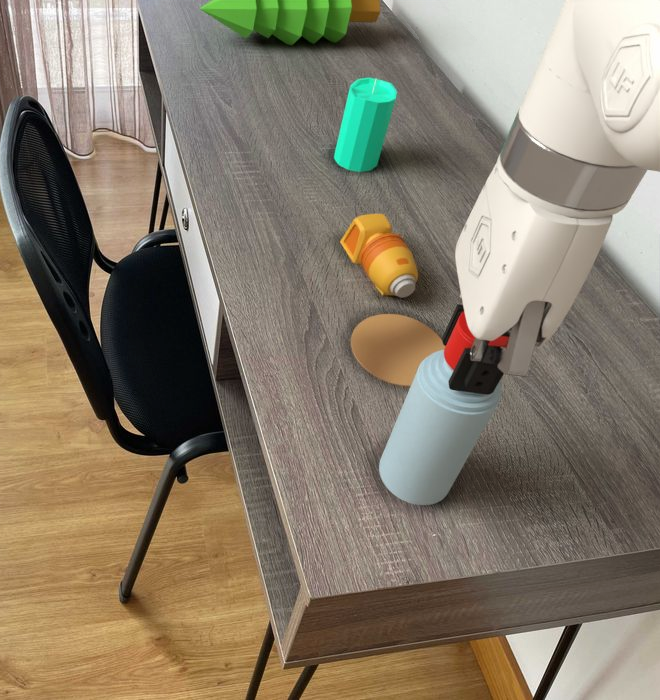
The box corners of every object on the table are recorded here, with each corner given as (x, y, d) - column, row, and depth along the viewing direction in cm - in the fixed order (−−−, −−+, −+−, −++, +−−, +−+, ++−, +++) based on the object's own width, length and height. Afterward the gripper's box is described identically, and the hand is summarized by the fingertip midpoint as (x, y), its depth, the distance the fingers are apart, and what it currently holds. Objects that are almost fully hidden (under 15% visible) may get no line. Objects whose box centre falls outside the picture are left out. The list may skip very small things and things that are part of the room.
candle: (357, 145, 102) (378, 62, 93) (386, 167, 99) (411, 83, 90) (324, 156, 100) (342, 72, 91) (352, 179, 97) (374, 94, 88)
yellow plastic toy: (421, 306, 81) (376, 236, 89) (436, 269, 77) (388, 199, 85) (377, 313, 80) (335, 242, 88) (390, 275, 76) (345, 204, 83)
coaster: (460, 345, 77) (462, 341, 77) (424, 405, 72) (426, 401, 71) (374, 304, 81) (375, 300, 80) (333, 358, 75) (334, 354, 75)
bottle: (460, 469, 67) (540, 325, 53) (434, 520, 63) (514, 378, 50) (395, 435, 69) (456, 289, 56) (366, 482, 65) (425, 337, 52)
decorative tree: (393, -33, 115) (208, -34, 107) (385, 46, 120) (208, 51, 112) (359, -31, 124) (188, -31, 117) (353, 43, 129) (189, 46, 122)
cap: (441, 336, 56) (455, 303, 54) (492, 343, 56) (509, 310, 53) (446, 375, 54) (461, 342, 51) (500, 382, 53) (518, 350, 51)
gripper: (485, 79, 48) (407, 286, 61) (533, 241, 36) (425, 451, 50) (602, 93, 47) (498, 298, 61) (686, 260, 36) (536, 466, 50)
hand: (466, 365), depth 55 cm, fingers closed on cap, 3 cm apart
